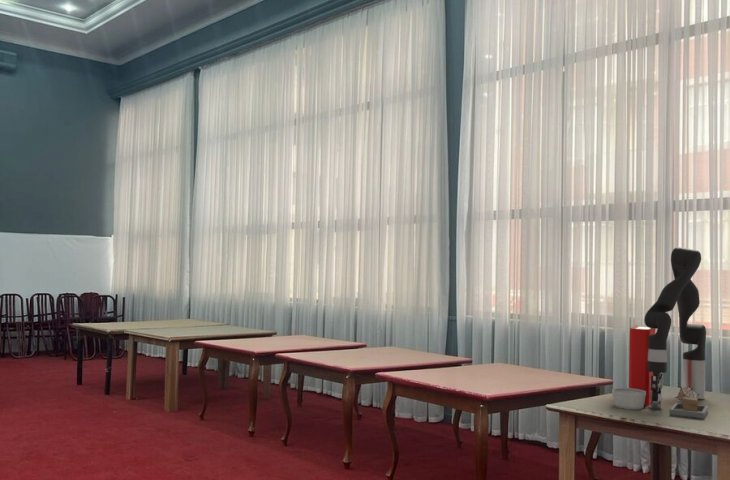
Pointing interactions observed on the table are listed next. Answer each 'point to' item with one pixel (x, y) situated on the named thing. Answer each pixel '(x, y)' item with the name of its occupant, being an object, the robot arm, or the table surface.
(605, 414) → the table surface
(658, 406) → the steel cylinder
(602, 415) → the table surface
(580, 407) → the table surface
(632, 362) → the book
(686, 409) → the walnut cube
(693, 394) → the game die
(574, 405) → the table surface
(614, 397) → the ramekin
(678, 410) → the charcoal tray
